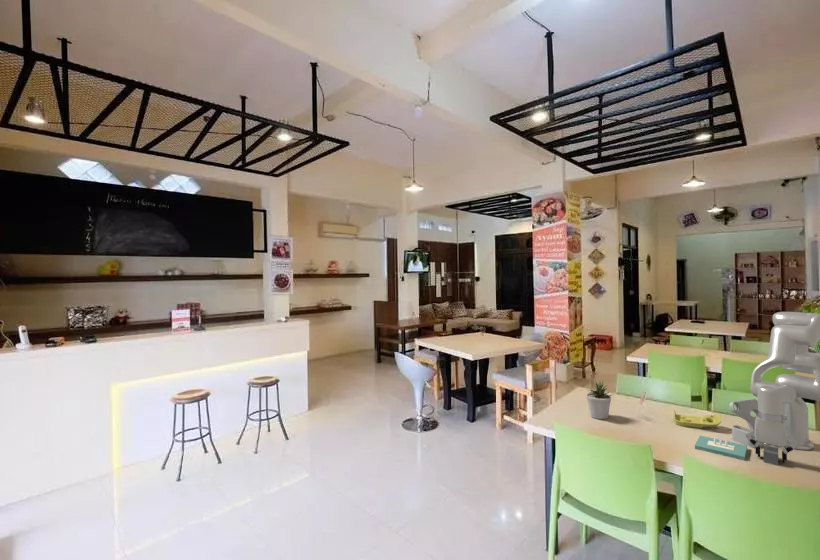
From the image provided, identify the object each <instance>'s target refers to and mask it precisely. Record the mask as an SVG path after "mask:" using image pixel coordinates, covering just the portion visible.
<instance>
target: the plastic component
mask: <svg viewBox="0 0 820 560" xmlns="http://www.w3.org/2000/svg"><path fill="white" fill-rule="evenodd" d="M722 421H723V420H722V414H721V413H718V414H717V415H713V414H710V415H709V414H706V415H702V416H699V415H698V416H697V415H685V414H676V410H675V409H673V422H674V424H675V425H676V426H679V425H680V426H679V427H687V428H697V429H703V428H704V427H706V428H708V429H712V428H713V429H715V428H716V427H718V426H719V425H721V423H722Z"/></svg>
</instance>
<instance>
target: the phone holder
mask: <svg viewBox="0 0 820 560" xmlns="http://www.w3.org/2000/svg"><path fill="white" fill-rule="evenodd" d="M728 405H729V406H728V407H729V409H730V412H731V413H733V414H735V415H737V416H738V417H740V418H741V419H742V420H745V421H746V423H747V426H748V428H747V427H744V426H741V425H732V426H731V438H730V439H731V441H732V442H735V443H737V444H742V445H747V447H749V448H752V449H756V448H755V446H754V445H753V444H752V443H751V442H750V441H749V440H748V439H747V437H746V436H745V435H746V434H748V433H750V432H752V431H754V427H755V419H756V416H758V399H755V398H753V399H751V398H750V399H744V400H738V401H731V402H730V403H729V404H728ZM734 406H735V407H734ZM752 412H753V413H754V416H753V415H751V413H752ZM751 438H752V439H754V440H755V437H754V435H753V436H751ZM755 441H756V440H755ZM764 445H767V446H773V445H772V444H767V443H766V444H764V443H762V442H761V444H760V445H759V446H760V448H761V447H764Z"/></svg>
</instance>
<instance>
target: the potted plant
mask: <svg viewBox="0 0 820 560" xmlns="http://www.w3.org/2000/svg"><path fill="white" fill-rule="evenodd" d="M594 381H595V382H593V386H594V387H595V390H593V389H591V388H589V389H587V391H589V392H588V393H587V394H585V396H586V400H587V406H588V410H589V415H590V416H592V417H591V418H593V419H597V420H606V419H608V417H609V414H610V409H611V408H610V406H611V401H612V396H613V395H614V394H609V392H610V391H608V392H606V390H607V389H608V384H606V385H605V386H604V383H603V382H604V381H603V379H602V382H601V381H599V382H597V381H596V379H595V380H594Z"/></svg>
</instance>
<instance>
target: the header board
mask: <svg viewBox="0 0 820 560" xmlns="http://www.w3.org/2000/svg"><path fill="white" fill-rule="evenodd" d="M695 442H696V443H694V449H695V450H700V451H702V452H703V451H704V452H708V453H711V454H716V455H720V456H724V457H728V458H729V457H730V458H733V459H737V460H740V461H741V460H743V461H745V459H746V456H747V452H748V446H747V445H744V444H741V443H738V442H734V441H727V440H722V439H719V438H713V437H710V436H704V435H699V436H698V439H697V440H696V441H695Z"/></svg>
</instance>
